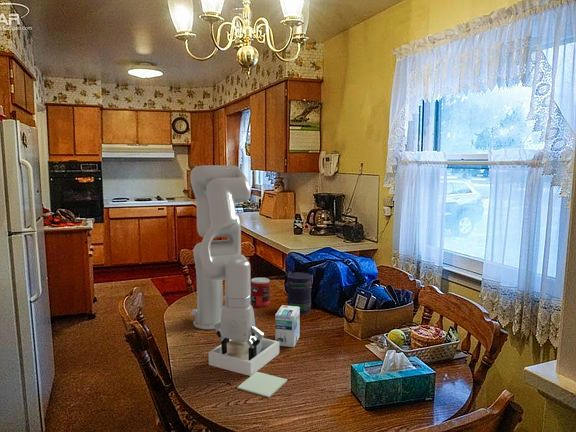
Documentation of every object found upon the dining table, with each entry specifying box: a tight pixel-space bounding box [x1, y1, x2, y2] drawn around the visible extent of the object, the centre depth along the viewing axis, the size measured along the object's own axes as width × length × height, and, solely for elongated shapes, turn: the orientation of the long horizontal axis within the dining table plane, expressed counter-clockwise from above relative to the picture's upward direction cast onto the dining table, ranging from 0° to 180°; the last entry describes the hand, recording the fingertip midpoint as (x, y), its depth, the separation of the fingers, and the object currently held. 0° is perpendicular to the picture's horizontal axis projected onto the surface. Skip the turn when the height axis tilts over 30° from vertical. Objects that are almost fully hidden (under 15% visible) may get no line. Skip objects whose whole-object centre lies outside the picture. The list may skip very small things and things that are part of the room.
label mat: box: [236, 371, 288, 398], centre depth 122 cm, size 10×10×1 cm
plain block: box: [251, 334, 262, 355], centre depth 140 cm, size 5×5×7 cm
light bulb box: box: [274, 304, 301, 348], centre depth 151 cm, size 11×7×11 cm, turn 168°
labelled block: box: [227, 340, 250, 360], centre depth 134 cm, size 5×5×7 cm
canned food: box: [250, 277, 271, 308], centre depth 189 cm, size 8×8×11 cm
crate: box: [207, 337, 280, 377], centre depth 137 cm, size 15×17×4 cm
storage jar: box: [286, 271, 312, 316], centre depth 181 cm, size 10×10×15 cm
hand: (238, 355), depth 134 cm, fingers open, 9 cm apart
